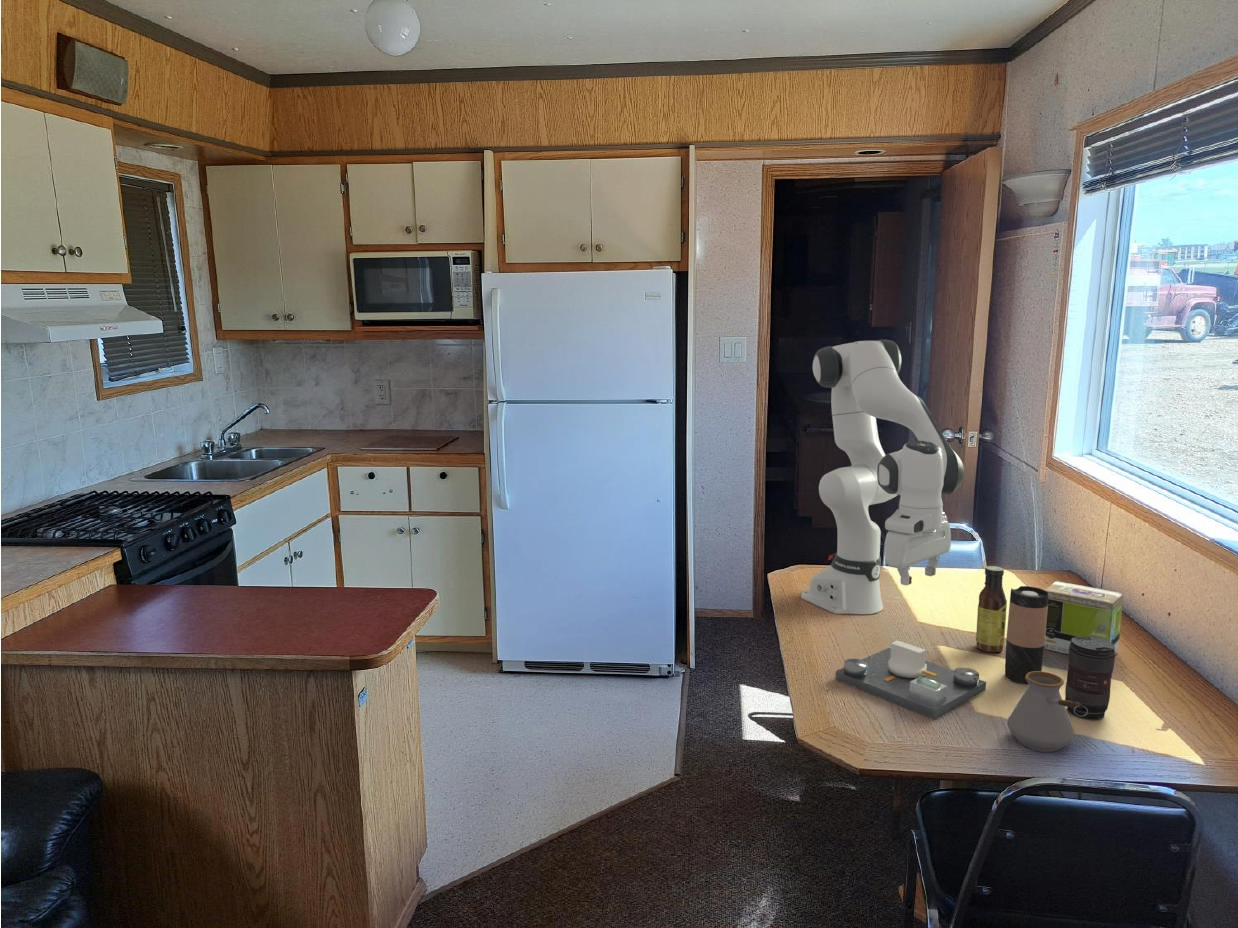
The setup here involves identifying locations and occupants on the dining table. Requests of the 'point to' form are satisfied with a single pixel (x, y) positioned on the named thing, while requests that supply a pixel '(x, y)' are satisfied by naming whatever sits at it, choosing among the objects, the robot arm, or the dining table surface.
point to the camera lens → (1089, 676)
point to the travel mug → (1025, 632)
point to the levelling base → (903, 686)
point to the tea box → (1081, 615)
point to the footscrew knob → (908, 661)
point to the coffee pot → (1043, 714)
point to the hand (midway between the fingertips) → (918, 579)
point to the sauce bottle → (991, 612)
